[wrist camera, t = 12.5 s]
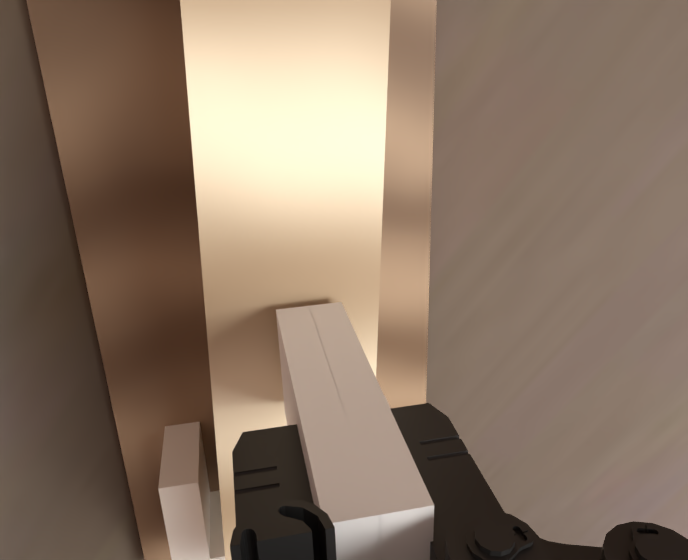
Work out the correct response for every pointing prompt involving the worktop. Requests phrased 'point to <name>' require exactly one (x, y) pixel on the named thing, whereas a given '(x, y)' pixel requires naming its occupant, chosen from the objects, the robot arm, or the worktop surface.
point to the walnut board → (182, 221)
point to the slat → (282, 187)
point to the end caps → (189, 497)
